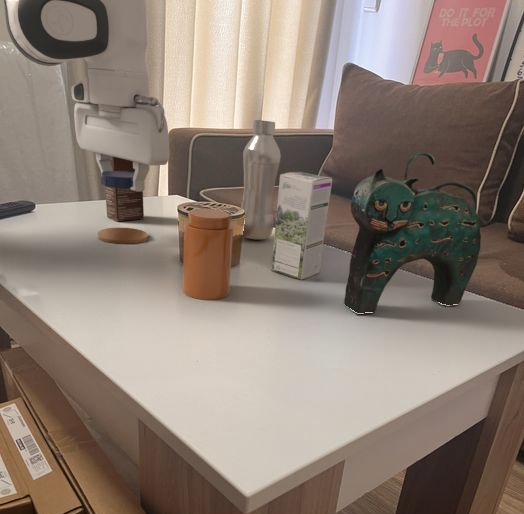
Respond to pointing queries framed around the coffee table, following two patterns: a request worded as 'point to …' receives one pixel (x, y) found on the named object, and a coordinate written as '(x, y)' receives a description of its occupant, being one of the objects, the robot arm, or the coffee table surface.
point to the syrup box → (300, 224)
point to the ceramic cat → (410, 237)
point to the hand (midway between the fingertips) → (122, 186)
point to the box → (123, 196)
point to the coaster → (122, 235)
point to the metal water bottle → (260, 180)
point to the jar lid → (117, 179)
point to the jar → (207, 254)
